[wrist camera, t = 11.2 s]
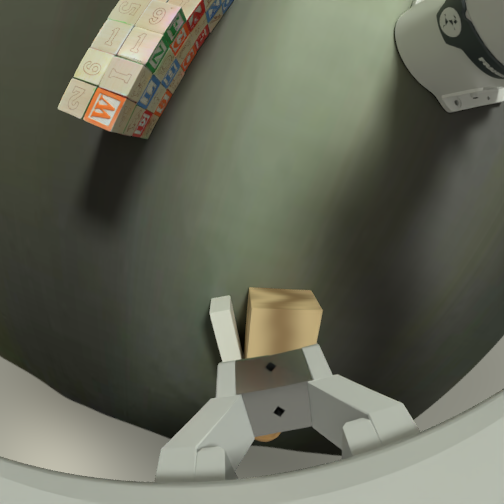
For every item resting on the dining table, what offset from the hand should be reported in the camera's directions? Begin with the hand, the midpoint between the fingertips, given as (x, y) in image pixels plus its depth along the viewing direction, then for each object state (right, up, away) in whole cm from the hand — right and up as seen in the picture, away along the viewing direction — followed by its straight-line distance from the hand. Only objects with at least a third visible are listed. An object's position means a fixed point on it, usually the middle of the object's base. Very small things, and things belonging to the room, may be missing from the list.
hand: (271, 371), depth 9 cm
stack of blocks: (-10, +27, +22) cm, 36 cm away
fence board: (-3, -8, +32) cm, 33 cm away
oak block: (+3, -6, +32) cm, 33 cm away
